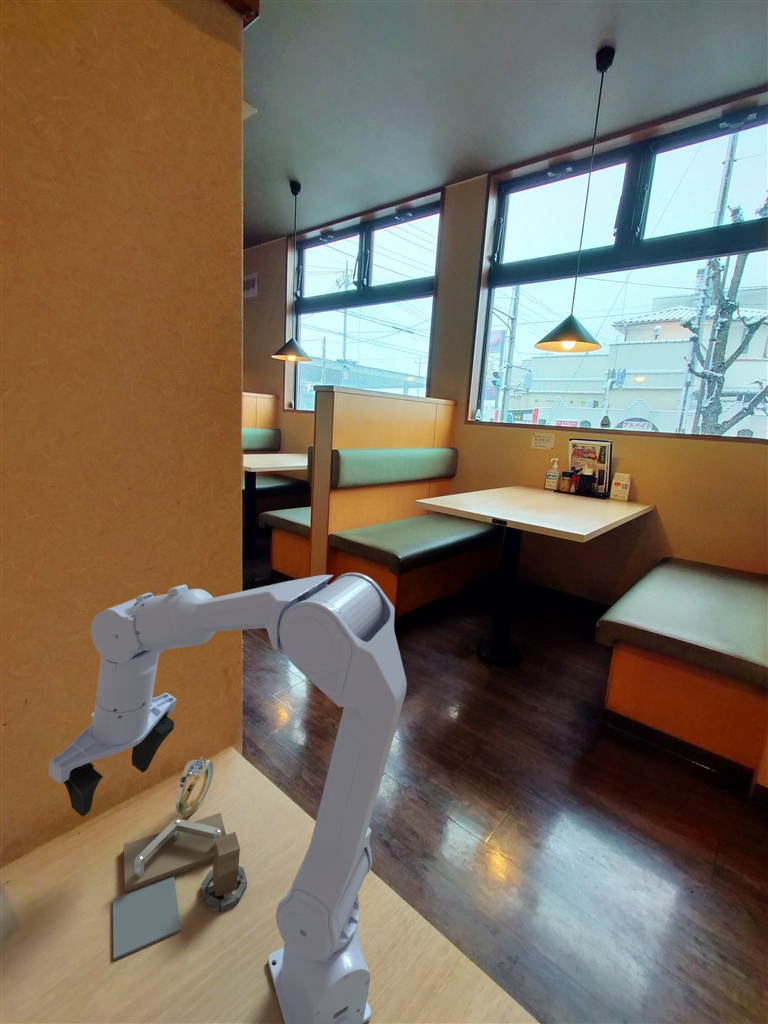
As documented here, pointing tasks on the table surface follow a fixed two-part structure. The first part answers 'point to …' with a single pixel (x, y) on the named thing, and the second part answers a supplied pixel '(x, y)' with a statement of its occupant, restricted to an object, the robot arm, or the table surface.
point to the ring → (193, 769)
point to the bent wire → (174, 831)
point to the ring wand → (224, 875)
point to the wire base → (170, 856)
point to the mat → (144, 917)
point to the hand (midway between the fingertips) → (111, 787)
